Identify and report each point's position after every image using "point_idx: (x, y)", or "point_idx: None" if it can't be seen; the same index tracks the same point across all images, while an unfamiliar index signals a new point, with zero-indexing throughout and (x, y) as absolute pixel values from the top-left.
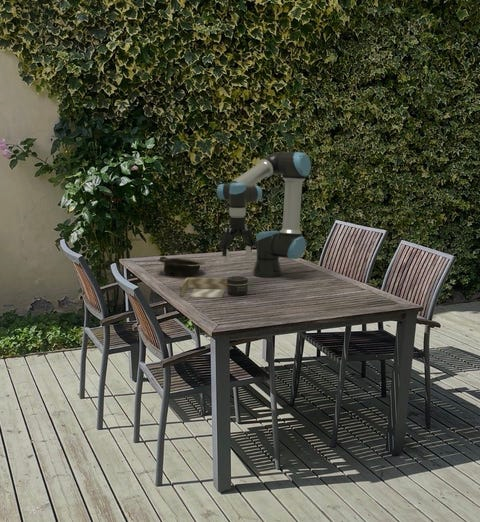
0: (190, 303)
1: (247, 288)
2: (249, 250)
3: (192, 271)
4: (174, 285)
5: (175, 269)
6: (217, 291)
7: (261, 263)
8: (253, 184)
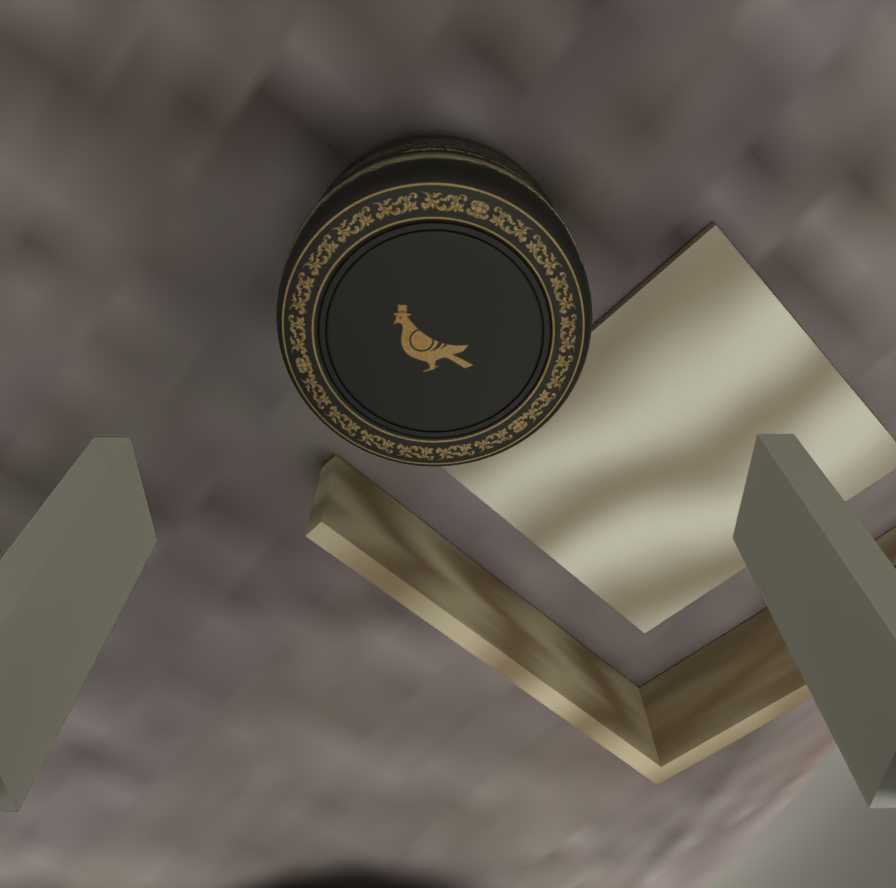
0: None
1: (345, 172)
2: (22, 593)
3: None
4: (649, 788)
5: None
6: (557, 450)
7: None
8: None
